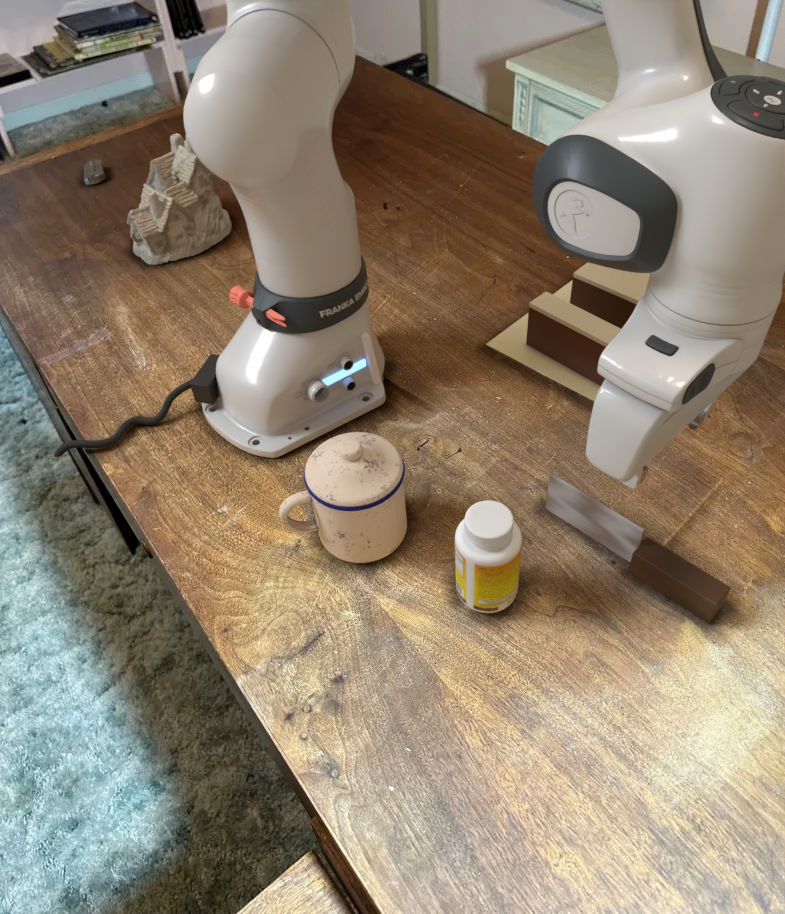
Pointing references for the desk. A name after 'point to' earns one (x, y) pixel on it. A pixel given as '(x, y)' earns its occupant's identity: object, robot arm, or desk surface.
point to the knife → (639, 551)
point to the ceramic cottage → (177, 208)
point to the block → (93, 172)
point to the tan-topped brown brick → (568, 334)
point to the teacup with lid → (353, 497)
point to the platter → (517, 349)
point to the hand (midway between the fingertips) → (661, 450)
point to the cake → (608, 292)
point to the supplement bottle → (487, 557)
